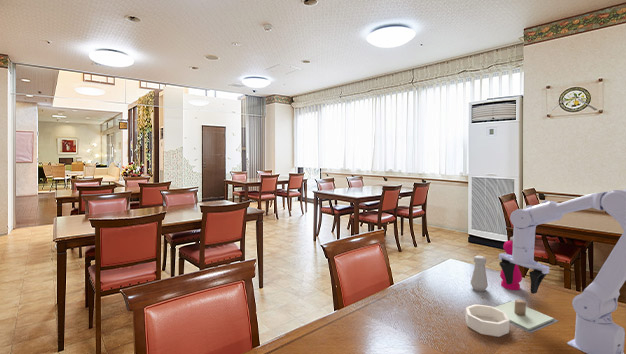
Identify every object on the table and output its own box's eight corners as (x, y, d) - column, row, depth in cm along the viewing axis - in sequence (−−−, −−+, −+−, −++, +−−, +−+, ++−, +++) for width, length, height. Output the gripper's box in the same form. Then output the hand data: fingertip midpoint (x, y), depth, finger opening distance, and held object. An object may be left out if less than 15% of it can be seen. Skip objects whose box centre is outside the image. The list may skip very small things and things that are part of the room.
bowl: (515, 330, 96) (516, 317, 95) (491, 340, 91) (492, 326, 90) (481, 313, 106) (482, 302, 105) (458, 321, 101) (458, 309, 100)
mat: (558, 321, 101) (559, 320, 101) (530, 334, 94) (530, 333, 94) (511, 301, 114) (511, 300, 114) (482, 311, 107) (483, 310, 107)
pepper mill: (502, 290, 123) (504, 238, 122) (497, 282, 130) (499, 233, 129) (524, 292, 121) (526, 240, 120) (518, 284, 128) (520, 235, 126)
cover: (553, 320, 101) (554, 305, 101) (528, 330, 95) (529, 315, 95) (512, 302, 113) (512, 289, 112) (487, 310, 107) (488, 297, 106)
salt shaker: (489, 293, 120) (491, 259, 119) (472, 292, 121) (474, 258, 120) (484, 287, 126) (485, 254, 125) (468, 286, 127) (469, 253, 126)
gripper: (556, 251, 97) (553, 294, 98) (508, 239, 110) (506, 277, 111) (542, 254, 94) (540, 299, 95) (495, 241, 107) (493, 281, 108)
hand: (521, 288), depth 103 cm, fingers open, 7 cm apart
